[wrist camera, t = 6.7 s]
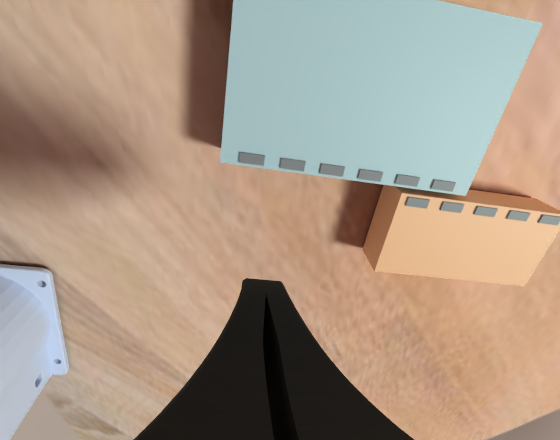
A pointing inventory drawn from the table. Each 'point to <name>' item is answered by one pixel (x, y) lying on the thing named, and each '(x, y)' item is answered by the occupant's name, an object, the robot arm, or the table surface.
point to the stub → (460, 235)
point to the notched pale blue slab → (370, 88)
